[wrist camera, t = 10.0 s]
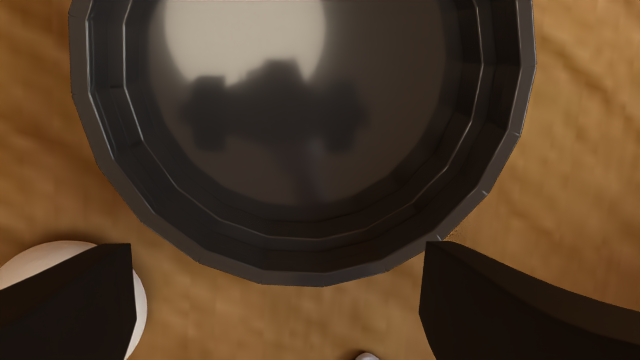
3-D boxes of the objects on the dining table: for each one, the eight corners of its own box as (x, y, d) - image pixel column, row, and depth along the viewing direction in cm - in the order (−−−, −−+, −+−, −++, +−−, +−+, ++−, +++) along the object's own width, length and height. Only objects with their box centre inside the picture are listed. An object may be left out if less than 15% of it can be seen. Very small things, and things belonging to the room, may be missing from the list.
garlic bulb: (32, 206, 20) (-118, 312, 12) (174, 261, 21) (119, 386, 14) (-12, 327, 21) (-170, 488, 14) (125, 371, 23) (50, 541, 15)
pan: (556, 55, 20) (622, 60, 16) (318, 302, 23) (328, 356, 19) (285, -251, 16) (289, -338, 12) (31, 87, 19) (-32, 101, 15)
